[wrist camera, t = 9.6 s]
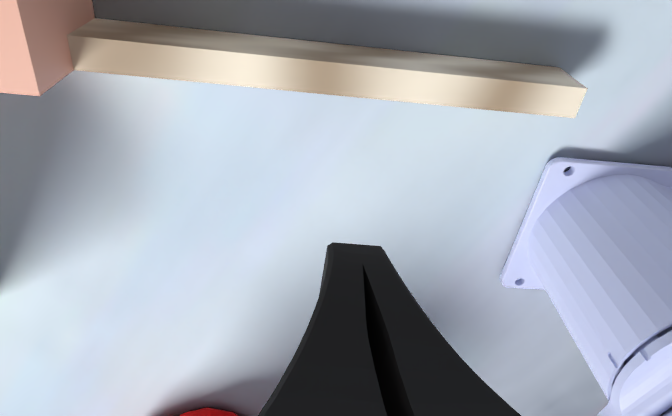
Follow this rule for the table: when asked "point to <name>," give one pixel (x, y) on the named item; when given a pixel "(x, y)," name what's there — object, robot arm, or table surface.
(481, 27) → the table surface
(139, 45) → the rails
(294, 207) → the table surface
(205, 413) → the water bottle
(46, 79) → the end stop
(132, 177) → the table surface
